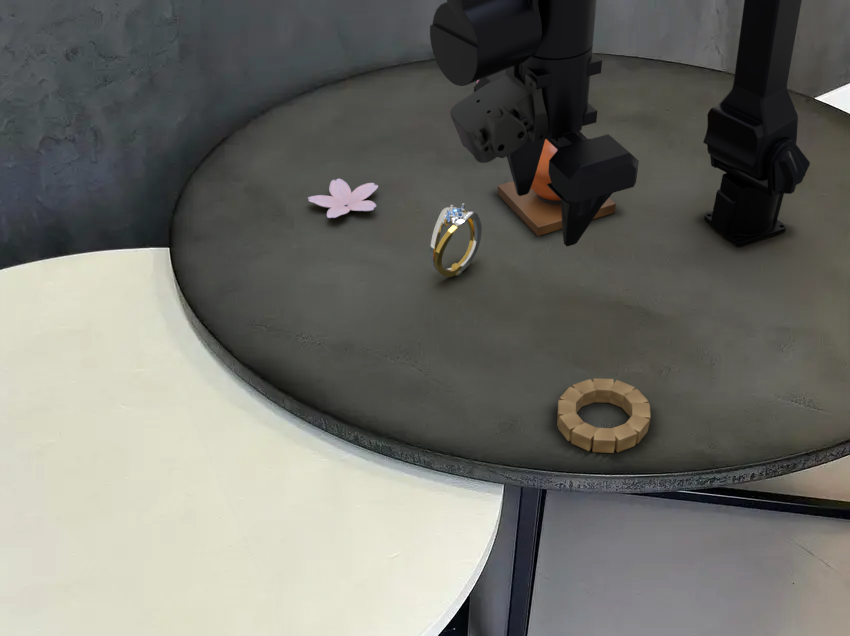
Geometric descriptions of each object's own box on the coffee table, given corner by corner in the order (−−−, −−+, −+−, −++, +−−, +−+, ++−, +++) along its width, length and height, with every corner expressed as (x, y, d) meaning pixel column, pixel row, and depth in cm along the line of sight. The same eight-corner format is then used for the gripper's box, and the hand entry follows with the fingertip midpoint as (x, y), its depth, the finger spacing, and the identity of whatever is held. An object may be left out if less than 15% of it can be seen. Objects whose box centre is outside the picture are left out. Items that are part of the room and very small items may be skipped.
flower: (360, 239, 112) (359, 227, 111) (288, 220, 116) (286, 208, 115) (402, 196, 118) (402, 184, 117) (332, 179, 121) (330, 167, 120)
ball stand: (571, 172, 119) (576, 103, 113) (615, 212, 113) (623, 142, 106) (497, 194, 117) (498, 125, 110) (537, 236, 111) (541, 166, 104)
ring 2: (617, 381, 94) (619, 368, 93) (665, 435, 89) (668, 422, 88) (541, 407, 92) (542, 395, 91) (586, 464, 87) (587, 451, 86)
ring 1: (443, 293, 105) (441, 228, 99) (423, 281, 106) (419, 215, 100) (490, 265, 108) (490, 200, 102) (469, 253, 109) (468, 188, 103)
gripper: (416, 21, 82) (423, 191, 93) (517, 118, 70) (511, 299, 82) (536, -6, 84) (529, 163, 96) (653, 83, 72) (629, 263, 84)
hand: (545, 218), depth 89 cm, fingers open, 9 cm apart
